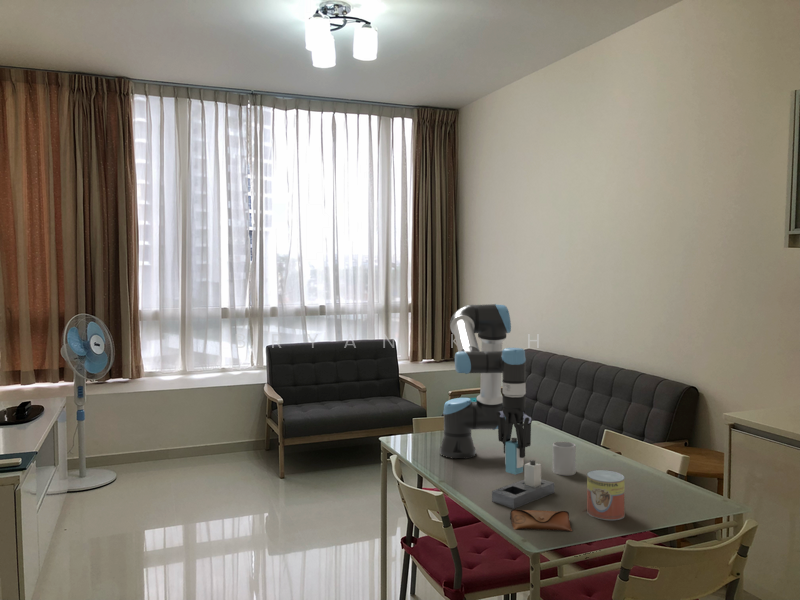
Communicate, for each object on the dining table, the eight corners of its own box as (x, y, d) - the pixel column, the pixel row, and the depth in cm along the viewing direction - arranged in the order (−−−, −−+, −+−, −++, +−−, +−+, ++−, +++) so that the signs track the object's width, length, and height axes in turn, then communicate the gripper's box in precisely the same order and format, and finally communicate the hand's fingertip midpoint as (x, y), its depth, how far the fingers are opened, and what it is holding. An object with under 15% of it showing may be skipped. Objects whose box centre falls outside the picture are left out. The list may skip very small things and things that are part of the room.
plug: (505, 471, 197) (505, 438, 196) (513, 469, 199) (513, 436, 199) (515, 474, 194) (515, 440, 193) (523, 472, 196) (522, 438, 196)
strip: (513, 510, 190) (513, 498, 190) (492, 502, 197) (491, 491, 196) (554, 494, 204) (554, 482, 204) (532, 487, 211) (532, 476, 211)
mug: (579, 475, 223) (579, 446, 223) (558, 477, 222) (558, 448, 221) (565, 465, 235) (565, 438, 235) (545, 467, 234) (545, 439, 233)
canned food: (582, 515, 186) (582, 477, 185) (592, 504, 195) (592, 467, 195) (619, 523, 179) (619, 484, 179) (628, 511, 189) (628, 473, 188)
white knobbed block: (524, 493, 204) (524, 460, 203) (531, 490, 206) (531, 458, 206) (534, 496, 201) (533, 463, 200) (541, 493, 203) (541, 461, 203)
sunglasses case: (512, 529, 175) (511, 506, 178) (510, 533, 181) (509, 510, 184) (574, 531, 173) (572, 507, 177) (570, 535, 179) (568, 512, 183)
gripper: (486, 393, 200) (487, 462, 200) (527, 400, 187) (528, 473, 187) (501, 390, 205) (501, 457, 205) (542, 397, 192) (542, 468, 192)
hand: (514, 465), depth 196 cm, fingers closed on plug, 4 cm apart
